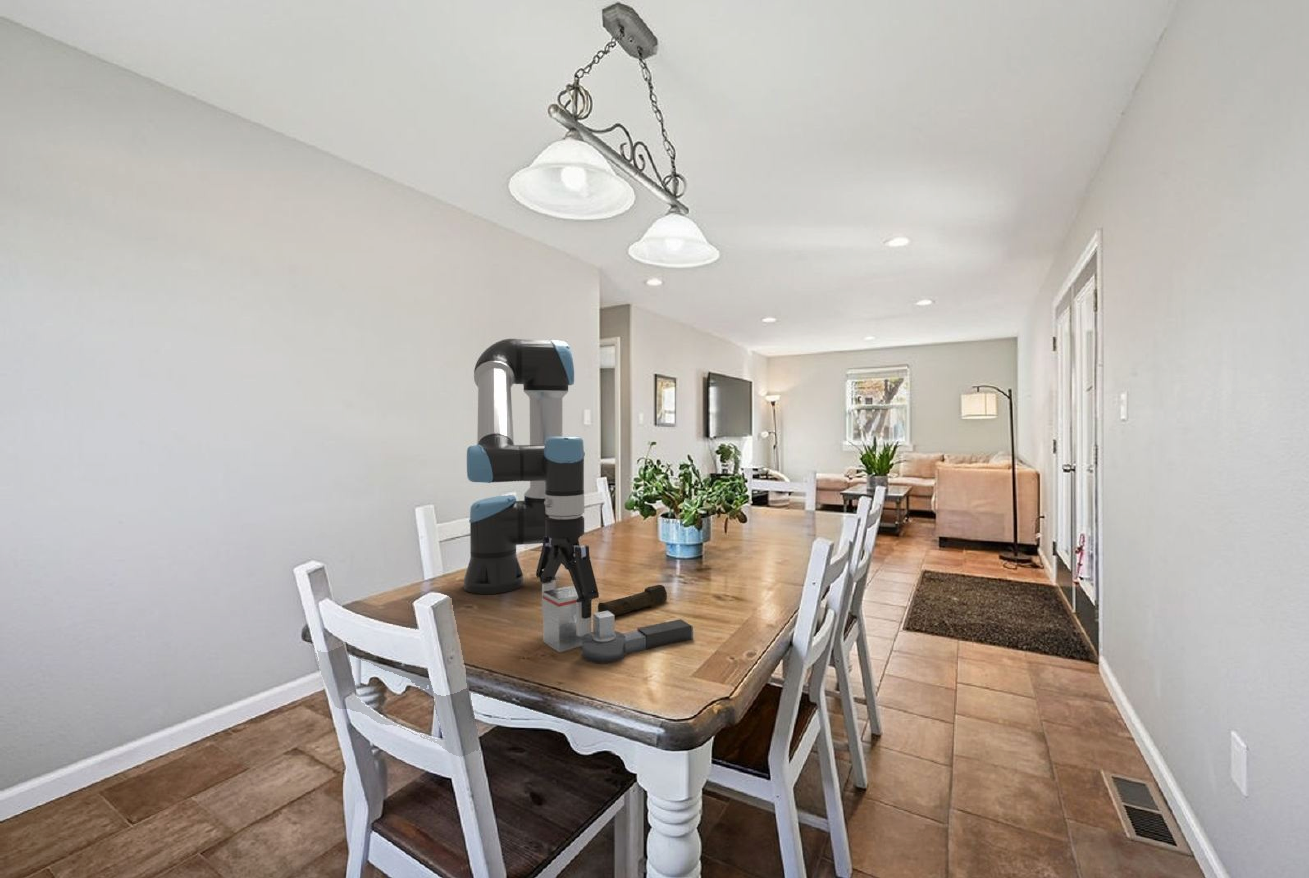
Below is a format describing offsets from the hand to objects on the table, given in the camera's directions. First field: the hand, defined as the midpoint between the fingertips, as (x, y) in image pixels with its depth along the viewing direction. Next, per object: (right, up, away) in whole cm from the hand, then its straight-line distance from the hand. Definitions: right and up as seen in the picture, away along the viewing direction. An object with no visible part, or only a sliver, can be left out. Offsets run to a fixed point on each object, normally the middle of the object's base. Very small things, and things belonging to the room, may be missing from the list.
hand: (565, 623), depth 109 cm
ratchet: (+14, -4, -2) cm, 15 cm away
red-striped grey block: (0, -4, 0) cm, 4 cm away
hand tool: (+13, -4, +19) cm, 24 cm away
